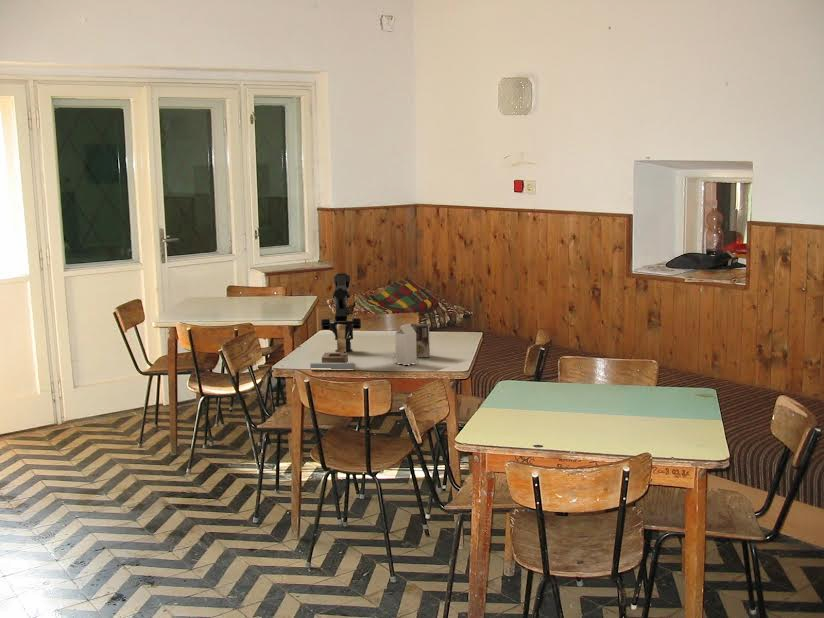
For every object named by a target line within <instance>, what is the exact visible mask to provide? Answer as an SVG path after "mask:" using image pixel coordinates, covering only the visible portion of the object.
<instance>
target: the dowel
mask: <svg viewBox="0 0 824 618" xmlns="http://www.w3.org/2000/svg"><path fill="white" fill-rule="evenodd" d="M345 334H346V333H345V324H337V340H336V344H337V345H336V346H337V347H336V348H338V352H337V353H343V352H345V353H347V352H346V339H345Z"/></svg>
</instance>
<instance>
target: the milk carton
mask: <svg viewBox="0 0 824 618" xmlns="http://www.w3.org/2000/svg"><path fill="white" fill-rule="evenodd" d="M411 324H412V323H407V324H403V325H400V327H399V328H398V330H397V331H396V332H395V335H394V336H395V337H394V338H395V341H394V342H395V343H394V344H395V364H396V363H400V364H405V365H408V364H412V363H416V362H418V361H417V359H418V358H417V355H416V332H415V331H414V329H413V328H412V327H411ZM416 364H417V363H416ZM412 365H413V364H412ZM408 366H409V365H408Z"/></svg>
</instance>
